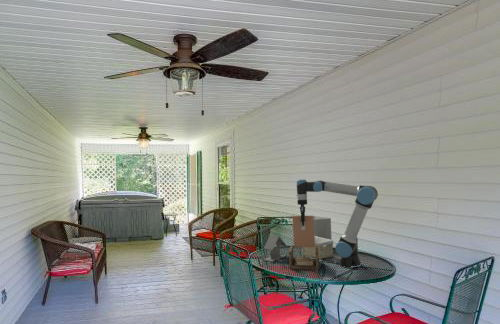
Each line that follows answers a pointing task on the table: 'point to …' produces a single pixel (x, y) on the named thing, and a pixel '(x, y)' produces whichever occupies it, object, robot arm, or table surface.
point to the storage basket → (320, 248)
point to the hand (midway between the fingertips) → (303, 229)
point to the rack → (292, 266)
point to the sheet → (303, 232)
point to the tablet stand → (270, 245)
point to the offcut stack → (303, 261)
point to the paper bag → (322, 227)
